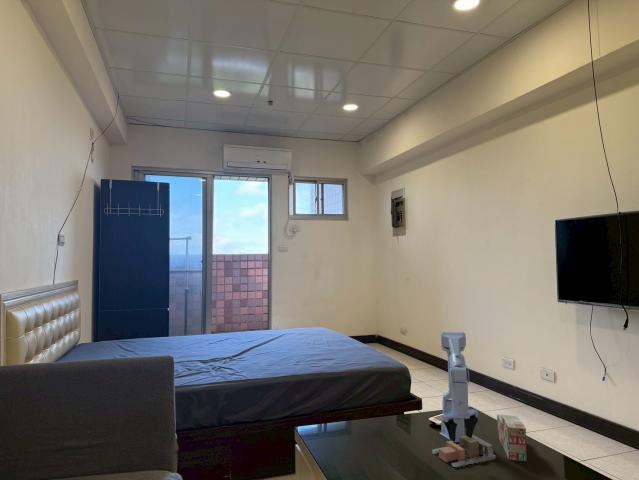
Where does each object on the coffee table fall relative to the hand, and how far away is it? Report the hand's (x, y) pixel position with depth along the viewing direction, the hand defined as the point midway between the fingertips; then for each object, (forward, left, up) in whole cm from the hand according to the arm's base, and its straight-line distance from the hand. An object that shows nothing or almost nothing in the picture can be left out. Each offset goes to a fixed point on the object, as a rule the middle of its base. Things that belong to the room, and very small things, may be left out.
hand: (460, 438), depth 148 cm
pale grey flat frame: (-6, +6, -9) cm, 13 cm away
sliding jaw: (-6, 0, -9) cm, 11 cm away
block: (-6, +9, -10) cm, 14 cm away
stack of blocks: (-4, +28, -10) cm, 30 cm away
